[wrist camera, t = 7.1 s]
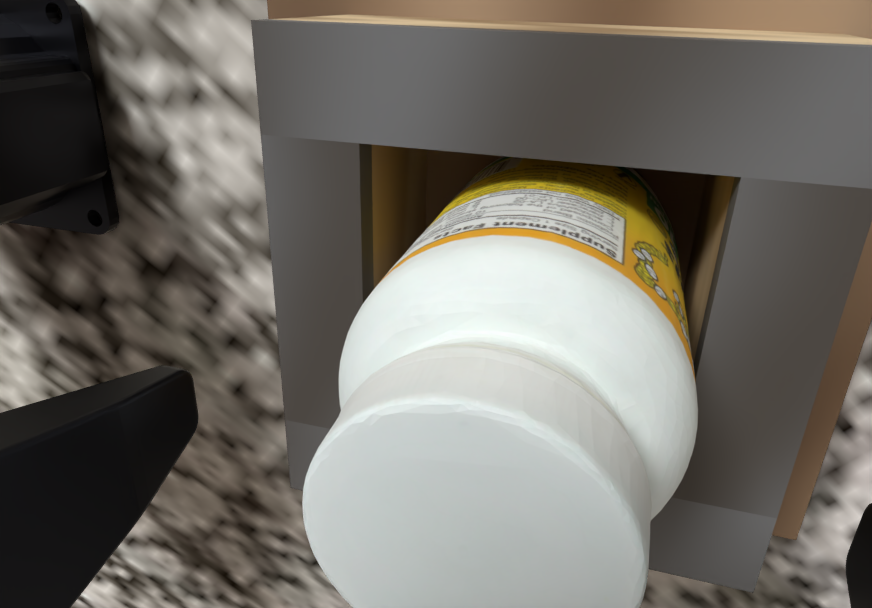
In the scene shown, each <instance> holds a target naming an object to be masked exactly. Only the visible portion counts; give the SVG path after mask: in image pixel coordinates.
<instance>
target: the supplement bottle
mask: <svg viewBox="0 0 872 608" xmlns="http://www.w3.org/2000/svg"><path fill="white" fill-rule="evenodd" d="M339 400H340V408H341V412H340V414H339V417H338V418H337V420H336V421H335V423H334V424H333V426H332V428H331V429H330V431H329V432H328V434H327V435H326V437H325V438H324V440H323V441H322V443H321V444H320V446H319V447H318V449H317V451H316V453H315V455H314V457H313V459H312V461H311V463H310V466H309V469H308V472H307V474H306V478H305V483H304V487H303V501H302V506H303V519H304V526H305V530H306V534H307V537H308V540H309V543H310V546H311V549H312V551H313V554H314V556H315V558H316V560H317V561H318V563H319V565H320V567H321V569H322V570H323V572H324V573H325V575H326V577H327V578H328V579H329V581H330V582H331V584H332V585H333V586H334V587H335V588H336V589H337V591H338V592H339V593H340V595H341V596H342V597H343V598H344V599H345V600H346V601H347V602H348V603H349V604H350V606H351V607H352V608H639V607H640V605H641V602H642V600H643V597H644V593H645V589H646V584H647V577H648V569H649V547H650V522H651V520H652V519H653V518H654V517H655V516H656V515H657V514H658V513H659V512H660V511H661V510H662V509H663V507H664V506H665V505H666V503H667V502H668V501H669V499H670V498H671V497H672V495H673V494H674V492H675V491H676V489H677V487H678V486H679V484H680V482H681V480H682V478H683V476H684V474H685V472H686V470H687V468H688V465H689V461H690V458H691V455H692V453H693V449H694V445H695V439H696V433H697V424H698V404H697V392H696V383H695V372H694V365H693V359H692V354H691V346H690V339H689V331H688V322H687V316H686V309H685V298H684V293H683V287H682V280H681V273H680V265H679V258H678V249H677V244H676V240H675V236H674V232H673V229H672V226H671V223H670V220H669V219H668V217H667V215H666V213H665V211H664V209H663V207H662V205H661V203H660V201H659V200H658V198H657V196H656V195H655V193H654V192H653V190H652V189H651V188H650V186H649V185H648V184H647V182H646V181H645V180H644V179H643V178H642V177H641V176H640V175H639V174H638V173H637V172H636V171H635V170H634V169H632V168H631V167H620V166H609V165H598V164H586V163H575V162H564V161H553V160H541V159H530V158H519V157H507V156H502V157H501V158H499V159H497V160H496V161H494V162H492V163H490V164H489V165H488V166H486V167H485V168H484V169H482V170H481V171H480V172H479V173H478V174H477V175H475V176H474V177H473V178H472V179H471V180H470V181H469V182H468V183H467V184H466V186H465V187H464V188H463V189H462V190H461V191H460V192H459V193H458V194H457V195H456V196H455V197H454V198H453V199H452V200H451V201H450V203H449V204H448V205H447V206H446V207H445V208H444V210H443V211H442V212H441V213H440V214H439V215H438V217H437V218H436V219H435V220H434V221H433V222H432V223H431V225H430V226H429V227H428V228H427V229H426V230H425V231H424V232H423V233H422V234H421V236H420V237H419V238H418V239H417V240H416V241H415V242H414V243H413V245H412V246H411V247H410V248H409V249H408V250H407V251H406V253H405V254H404V255H403V256H402V257H401V258H400V259H399V260H398V261H397V263H396V264H395V265H394V266H393V267H392V268H391V269H390V270H389V272H388V273H387V274H386V275H385V276H384V278H383V279H382V280H381V281H380V282H379V284H378V285H377V286H376V287H375V289H374V290H373V291H372V292H371V294H370V295H369V296H368V298H367V299H366V300H365V302H364V303H363V304H362V306H361V308H360V309H359V311H358V313H357V315H356V316H355V318H354V320H353V323H352V325H351V327H350V329H349V331H348V334H347V337H346V340H345V344H344V347H343V351H342V355H341V360H340V368H339Z"/></svg>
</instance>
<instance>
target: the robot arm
mask: <svg viewBox="0 0 872 608" xmlns="http://www.w3.org/2000/svg"><path fill="white" fill-rule="evenodd" d="M58 6H59V8H60V9H61V12H62V20H61V19H60V18H59V15H58ZM97 212H98V213H99V214H100V215H101V217H102V220H101V219H100V218H99V216H98V214H97ZM8 222H10V223H18V224H25V225H32V226H40V227H47V228H54V229H61V230H69V231H76V232H83V233H90V234H98V235H99V234H105V233H107V232H109V231H112V230H113V229H115V228H116V227H117V225H118V223H119V215H118V209H117V204H116V198H115V193H114V187H113V182H112V177H111V171H110V166H109V160H108V155H107V149H106V144H105V138H104V133H103V128H102V122H101V117H100V111H99V106H98V100H97V95H96V89H95V84H94V79H93V73H92V68H91V62H90V57H89V51H88V46H87V41H86V35H85V30H84V24H83V19H82V13H81V10H80V7H79V5H78V4H77V2H76V1H75V0H0V225H2V224H5V223H8ZM197 424H198V410H197V403H196V396H195V390H194V383H193V378H192V376H191V374H190V372H189V371H187V370H185V369H181V368H176V367H171V366H158V367H154V368H151V369H148V370H144V371H141V372H137V373H134V374H131V375H127V376H124V377H121V378H117V379H114V380H110V381H107V382H104V383H100V384H97V385H94V386H90V387H87V388H83V389H80V390H77V391H73V392H70V393H66V394H63V395H60V396H56V397H53V398H50V399H46V400H43V401H39V402H36V403H33V404H29V405H26V406H22V407H19V408H16V409H12V410H9V411H6V412H2V413H0V608H71V606H72V605H73V604H74V602H75V601H76V600H77V599H78V597H79V596H80V595H81V593H82V592H83V591H84V590H85V588H86V587H87V586H88V584H89V583H90V582H91V581H92V579H93V578H94V577H95V575H96V574H97V573H98V572H99V570H100V569H101V568H102V566H103V565H104V564H105V563H106V561H107V560H108V559H109V558H110V556H111V555H112V554H113V552H114V551H115V550H116V549H117V547H118V546H119V545H120V543H121V542H122V541H123V540H124V538H125V537H126V536H127V534H128V533H129V532H130V531H131V529H132V528H133V527H134V525H135V524H136V523H137V521H138V520H139V518H140V517H141V516H142V514H143V513H144V511H145V510H146V508H147V507H148V505H149V504H150V502H151V501H152V499H153V498H154V496H155V494H156V493H157V491H158V490H159V488H160V487H161V485H162V483H163V482H164V480H165V479H166V477H167V476H168V474H169V472H170V471H171V469H172V468H173V466H174V464H175V463H176V461H177V460H178V458H179V457H180V455H181V453H182V452H183V450H184V449H185V447H186V446H187V444H188V442H189V441H190V439H191V438H192V436H193V434H194V432H195V430H196V428H197ZM846 577H847V584H848V591H849V597H850V604H851V608H872V503H871V504H869V505H868V506H867V508H866V509H865V511H864V513H863V516H862V518H861V521H860V523H859V526H858V528H857V531H856V534H855V536H854V539H853V541H852V544H851V546H850V549H849V552H848V555H847V560H846Z"/></svg>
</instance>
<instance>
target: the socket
mask: <svg viewBox="0 0 872 608" xmlns="http://www.w3.org/2000/svg"><path fill="white" fill-rule="evenodd" d="M267 5H268V18H269V19H265V20H251V24H252V36H253V47H254V59H255V71H256V83H257V95H258V106H259V118H260V130H261V142H262V154H263V166H264V177H265V189H266V201H267V213H268V225H269V236H270V248H271V260H272V272H273V284H274V296H275V307H276V319H277V331H278V343H279V355H280V366H281V378H282V390H283V402H284V414H285V426H286V437H287V449H288V461H289V473H290V485H291V488H294V489H298V490H303V487H304V483H305V478H306V474H307V472H308V469H309V466H310V463H311V461H312V459H313V457H314V455H315V453H316V451H317V449H318V447H319V446H320V444H321V443H322V441H323V440H324V438H325V437H326V435H327V434H328V432H329V431H330V429H331V428H332V426H333V424H334V423H335V421H336V420H337V418H338V417H339V414H340V412H341V408H340V400H339V368H340V360H341V355H342V351H343V347H344V344H345V340H346V337H347V334H348V331H349V329H350V327H351V325H352V323H353V320H354V318H355V316H356V315H357V313H358V311H359V309H360V308H361V306H362V304H363V303H364V302H365V300H366V299H367V298H368V296H369V295H370V294H371V292H372V291H373V290H374V289H375V287H376V286H377V285H378V284H379V282H380V281H381V280H382V279H383V278H384V276H385V275H386V274H387V273H388V272H389V270H390V269H391V268H392V267H393V266H394V265H395V264H396V263H397V261H398V260H399V259H400V258H401V257H402V256H403V255H404V254H405V253H406V251H407V250H408V249H409V248H410V247H411V246H412V245H413V243H414V242H415V241H416V240H417V239H418V238H419V237H420V236H421V234H422V233H423V232H424V231H425V230H426V229H427V228H428V227H429V226H430V225H431V223H432V222H433V221H434V220H435V219H436V218H437V217H438V215H439V214H440V213H441V212H442V211H443V210H444V208H445V207H446V206H447V205H448V204H449V203H450V201H451V200H452V199H453V198H454V197H455V196H456V195H457V194H458V193H459V192H460V191H461V190H462V189H463V188H464V187H465V186H466V184H467V183H468V182H469V181H470V180H471V179H472V178H473V177H474V176H475V175H477V174H478V173H479V172H480V171H481V170H482V169H484V168H485V167H486V166H488V165H489V164H490V163H492V162H494V161H496V160H497V159H499V158H501V157H502V156H507V157H519V158H530V159H541V160H553V161H564V162H575V163H586V164H598V165H609V166H620V167H631V168H632V169H634V170H635V171H636V172H637V173H638V174H639V175H640V176H641V177H642V178H643V179H644V180H645V181H646V182H647V184H648V185H649V186H650V188H651V189H652V190H653V192H654V193H655V195H656V196H657V198H658V200H659V201H660V203H661V205H662V207H663V209H664V211H665V213H666V215H667V217H668V219H669V220H670V223H671V226H672V229H673V232H674V236H675V240H676V244H677V249H678V258H679V265H680V273H681V280H682V287H683V293H684V298H685V309H686V316H687V322H688V331H689V339H690V346H691V354H692V359H693V365H694V372H695V383H696V392H697V404H698V424H697V433H696V439H695V445H694V449H693V453H692V455H691V458H690V461H689V465H688V468H687V470H686V472H685V474H684V476H683V478H682V480H681V482H680V484H679V486H678V487H677V489H676V491H675V492H674V494H673V495H672V497H671V498H670V499H669V501H668V502H667V503H666V505H665V506H664V507H663V509H662V510H661V511H660V512H659V513H658V514H657V515H656V516H655V517H654V518H653V519H652V520H651V522H650V547H649V569H651V570H655V571H660V572H664V573H668V574H673V575H677V576H682V577H686V578H691V579H695V580H699V581H704V582H708V583H713V584H717V585H721V586H726V587H730V588H735V589H739V590H743V591H748V592H752V593H753V592H754V589H755V586H756V583H757V580H758V577H759V573H760V570H761V567H762V564H763V561H764V558H765V555H766V551H767V548H768V545H769V542H770V539H771V536H772V535H774V536H779V537H784V538H789V539H793V540H796V539H797V536H798V533H799V530H800V527H801V524H802V521H803V518H804V516H805V513H806V510H807V507H808V504H809V501H810V498H811V495H812V492H813V489H814V486H815V483H816V480H817V477H818V474H819V472H820V469H821V466H822V463H823V460H824V457H825V454H826V451H827V448H828V445H829V442H830V439H831V436H832V433H833V430H834V427H835V425H836V422H837V419H838V416H839V413H840V410H841V407H842V404H843V401H844V398H845V395H846V392H847V389H848V386H849V383H850V381H851V378H852V375H853V372H854V369H855V366H856V363H857V360H858V357H859V354H860V351H861V348H862V345H863V342H864V339H865V337H866V334H867V331H868V328H869V325H870V322H871V319H872V0H267Z"/></svg>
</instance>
